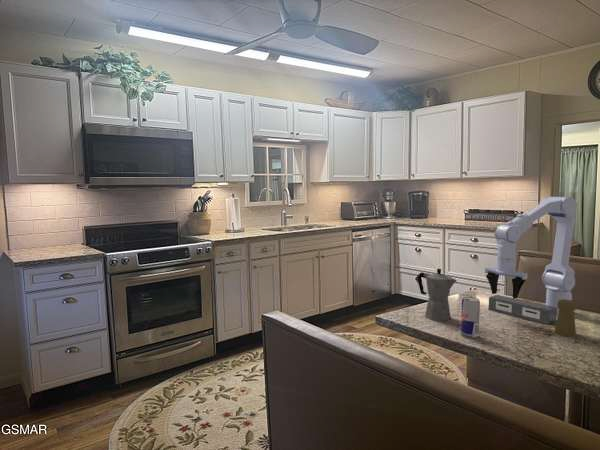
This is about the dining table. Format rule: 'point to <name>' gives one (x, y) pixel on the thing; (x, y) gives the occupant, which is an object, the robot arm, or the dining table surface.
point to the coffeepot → (437, 294)
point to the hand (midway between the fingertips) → (504, 295)
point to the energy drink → (470, 317)
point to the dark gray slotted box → (523, 309)
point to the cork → (566, 318)
